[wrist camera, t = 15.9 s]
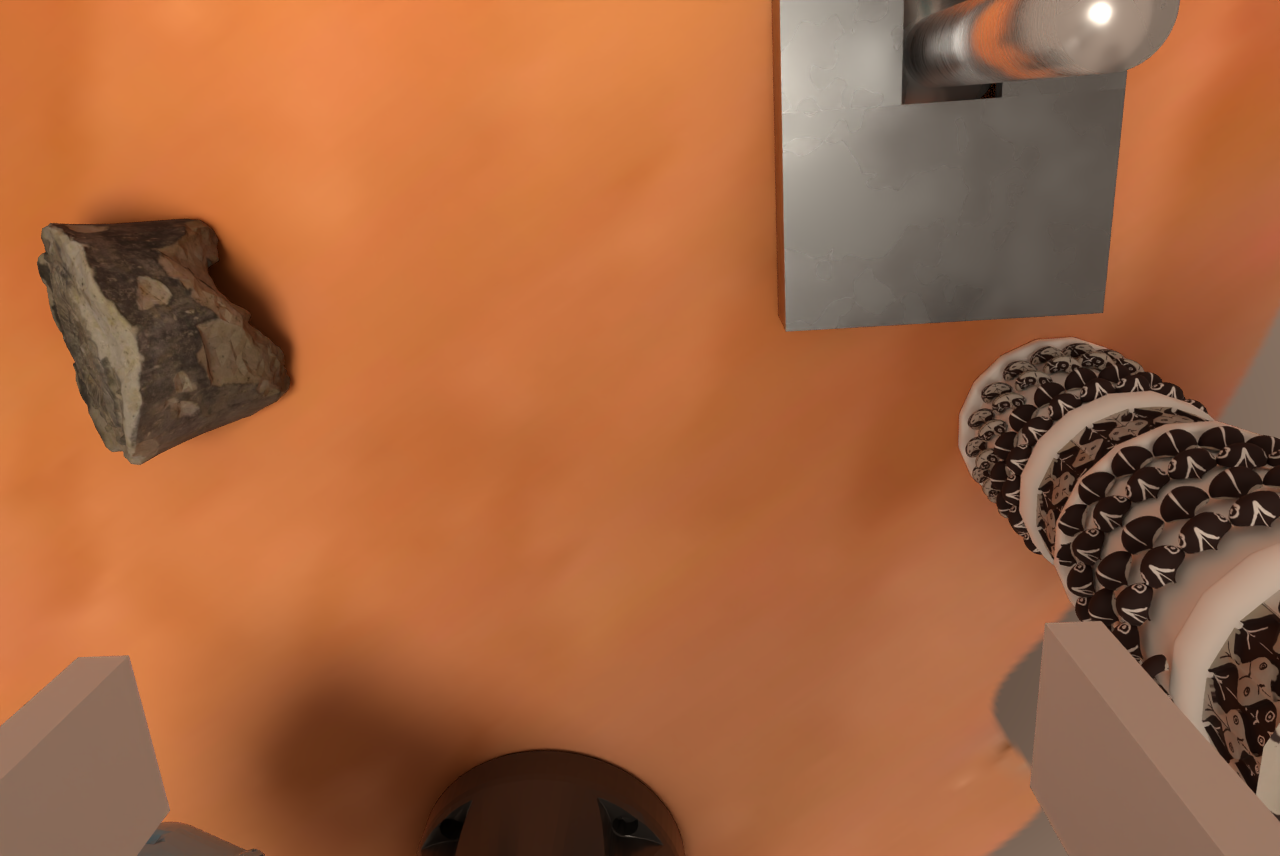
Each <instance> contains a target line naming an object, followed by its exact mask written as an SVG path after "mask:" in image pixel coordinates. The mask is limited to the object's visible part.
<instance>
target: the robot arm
mask: <svg viewBox="0 0 1280 856" xmlns="http://www.w3.org/2000/svg"><path fill="white" fill-rule="evenodd" d="M1041 662H1042V663H1041V672H1040V673H1041V674H1040V684H1039V694H1038V706H1037V717H1036V728H1035V738H1034V750H1033V760H1032V771H1031V782H1030V787H1031V789H1032V791H1033V793H1034V795H1035V796H1036V798H1037V800H1038V802H1039V804H1040V805H1041V807H1042V809H1043V811H1044V813H1045V815H1046V816H1047V818H1048V820H1049V822H1050V823H1051V825H1052V827H1053V829H1054V830H1055V832H1056V834H1057V836H1058V838H1059V840H1060V841H1061V843H1062V845H1063V847H1064V849H1065V850H1066V852H1067V854H1068V856H1280V821H1279V820H1278V819H1277V818H1276V817H1275V816H1274V815H1273V814H1272V812H1271V811H1270V810H1269V809H1268V808H1267V807H1266V806H1265V805H1264V803H1263V802H1262V801H1261V800H1260V799H1259V798H1258V797H1257V796H1256V795H1255V793H1254V792H1253V791H1252V790H1251V789H1250V788H1249V787H1248V786H1247V784H1246V783H1245V782H1244V781H1243V780H1242V779H1241V778H1240V777H1239V775H1238V774H1237V773H1236V772H1235V771H1234V770H1233V769H1232V768H1231V766H1230V765H1229V764H1228V763H1227V762H1226V761H1225V760H1224V759H1223V757H1222V756H1221V755H1220V754H1219V753H1218V752H1217V751H1216V750H1215V748H1214V747H1213V746H1212V745H1211V744H1210V743H1209V742H1208V741H1207V739H1206V738H1205V737H1204V736H1203V735H1202V734H1201V733H1200V732H1199V730H1198V729H1197V728H1196V727H1195V726H1194V725H1193V724H1192V723H1191V721H1190V720H1189V719H1188V718H1187V717H1186V716H1185V715H1184V714H1183V712H1182V711H1181V710H1180V709H1179V708H1178V707H1177V706H1176V705H1175V703H1174V702H1173V701H1172V700H1171V699H1170V698H1169V697H1168V696H1167V694H1166V693H1165V692H1164V691H1163V690H1162V689H1161V688H1160V687H1159V686H1158V684H1157V683H1156V682H1155V681H1154V680H1153V679H1152V678H1151V677H1150V675H1149V674H1148V673H1147V672H1146V671H1145V670H1144V669H1143V668H1142V666H1141V665H1140V664H1139V663H1138V662H1137V661H1136V660H1135V659H1134V657H1133V656H1132V655H1131V654H1130V653H1129V652H1128V651H1127V650H1126V648H1125V647H1124V646H1123V645H1122V644H1121V643H1120V642H1119V641H1118V639H1117V638H1116V637H1115V636H1114V635H1113V634H1112V633H1111V632H1110V630H1109V629H1108V628H1107V627H1106V626H1105V625H1104V624H1103V623H1102V621H1088V622H1059V623H1045V628H1044V639H1043V651H1042V661H1041ZM169 811H170V808H169V804H168V801H167V797H166V793H165V789H164V786H163V782H162V778H161V774H160V770H159V767H158V763H157V759H156V755H155V752H154V748H153V744H152V740H151V737H150V733H149V729H148V725H147V722H146V718H145V714H144V710H143V707H142V703H141V699H140V695H139V691H138V688H137V684H136V680H135V676H134V673H133V669H132V665H131V661H130V658H129V656H102V657H78V658H77V659H76V660H74V661H73V662H72V663H71V664H70V665H69V666H68V667H67V668H65V669H64V670H63V671H62V672H61V673H60V674H59V675H58V676H56V677H55V678H54V679H53V680H52V681H51V682H50V683H49V684H47V685H46V686H45V687H44V688H43V689H42V690H41V691H40V692H39V693H37V694H36V695H35V696H34V697H33V698H32V699H31V700H30V701H28V702H27V703H26V704H25V705H24V706H23V707H22V708H21V709H19V710H18V711H17V712H16V713H15V714H14V715H13V716H12V717H10V718H9V719H8V720H7V721H6V722H5V723H4V724H3V725H1V726H0V856H265V854H264V853H262V852H261V851H260V850H257V849H251V850H248V851H247V850H244V849H242V848H240V847H238V846H235V845H233V844H231V843H229V842H226V841H224V840H222V839H220V838H217V837H215V836H213V835H211V834H209V833H206V832H204V831H202V830H200V829H197V828H195V827H193V826H191V825H188V824H184V823H179V822H163V823H161V822H162V821H163V819H164V818H165V817H166V815H167V814H168V813H169ZM416 856H685V854H684V847H683V842H682V839H681V835H680V832H679V830H678V828H677V825H676V823H675V821H674V819H673V817H672V816H671V814H670V813H669V811H668V810H667V808H666V807H665V806H664V804H663V803H662V802H661V801H660V800H659V798H658V797H657V796H656V795H655V794H654V793H653V792H652V791H651V790H650V789H648V788H647V787H646V786H645V785H644V784H642V783H641V782H640V781H638V780H637V779H636V778H634V777H633V776H631V775H629V774H628V773H626V772H624V771H622V770H621V769H619V768H617V767H614V766H612V765H610V764H608V763H605V762H603V761H600V760H597V759H594V758H591V757H587V756H583V755H578V754H573V753H567V752H558V751H531V752H522V753H516V754H511V755H507V756H503V757H499V758H496V759H493V760H490V761H488V762H486V763H483V764H481V765H479V766H477V767H475V768H473V769H472V770H470V771H468V772H467V773H465V774H464V775H462V776H461V777H460V778H458V779H457V780H456V781H455V782H454V783H452V784H451V785H450V786H449V787H448V788H447V789H446V791H445V792H444V793H443V794H442V795H441V797H440V798H439V800H438V801H437V802H436V804H435V806H434V808H433V810H432V812H431V814H430V816H429V819H428V822H427V824H426V827H425V830H424V833H423V836H422V839H421V841H420V844H419V847H418V851H417V855H416Z"/></svg>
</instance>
